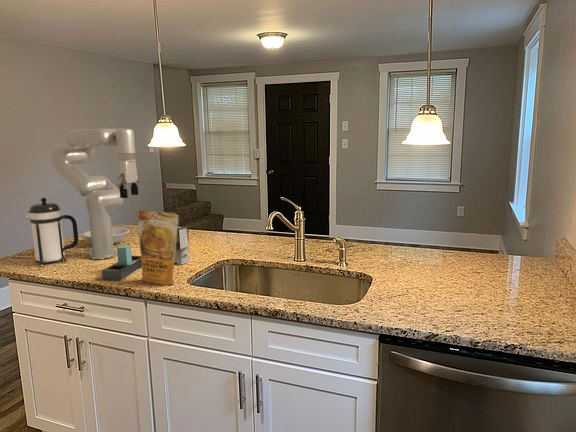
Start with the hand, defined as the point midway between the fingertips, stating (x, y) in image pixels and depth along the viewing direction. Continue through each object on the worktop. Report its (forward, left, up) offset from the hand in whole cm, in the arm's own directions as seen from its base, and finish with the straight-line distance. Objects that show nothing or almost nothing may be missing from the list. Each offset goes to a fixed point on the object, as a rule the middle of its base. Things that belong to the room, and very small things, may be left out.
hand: (129, 196), depth 198 cm
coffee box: (+20, +2, -31) cm, 37 cm away
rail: (+3, -14, -30) cm, 34 cm away
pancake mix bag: (+23, -24, -31) cm, 45 cm away
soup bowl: (-32, +32, -31) cm, 55 cm away
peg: (+3, -14, -30) cm, 33 cm away
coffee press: (-39, -2, -31) cm, 50 cm away
